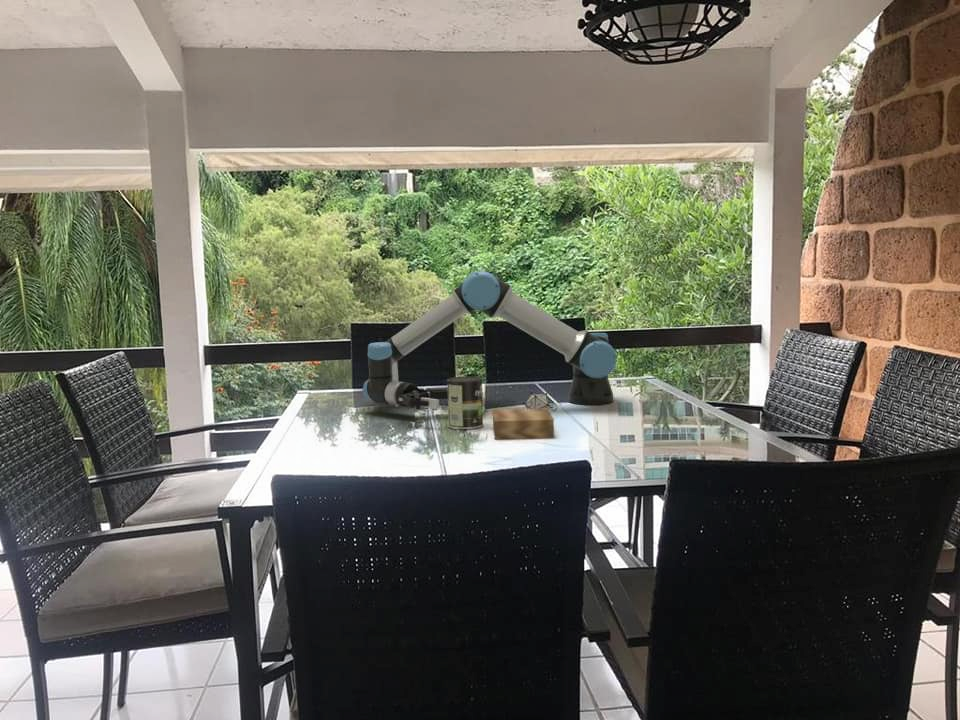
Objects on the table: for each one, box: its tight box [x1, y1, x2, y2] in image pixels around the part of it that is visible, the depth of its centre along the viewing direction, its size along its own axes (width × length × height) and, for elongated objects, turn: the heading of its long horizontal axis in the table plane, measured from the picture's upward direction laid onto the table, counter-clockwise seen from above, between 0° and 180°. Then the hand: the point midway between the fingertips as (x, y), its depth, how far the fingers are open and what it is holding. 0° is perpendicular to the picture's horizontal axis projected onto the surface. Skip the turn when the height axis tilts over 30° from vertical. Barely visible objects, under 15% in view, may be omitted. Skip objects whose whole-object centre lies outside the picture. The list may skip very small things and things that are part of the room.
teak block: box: [492, 408, 555, 440], centre depth 219 cm, size 16×16×5 cm
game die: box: [522, 391, 554, 411], centre depth 237 cm, size 9×8×10 cm
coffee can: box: [446, 375, 484, 431], centre depth 229 cm, size 10×10×14 cm
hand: (453, 400), depth 231 cm, fingers open, 13 cm apart
